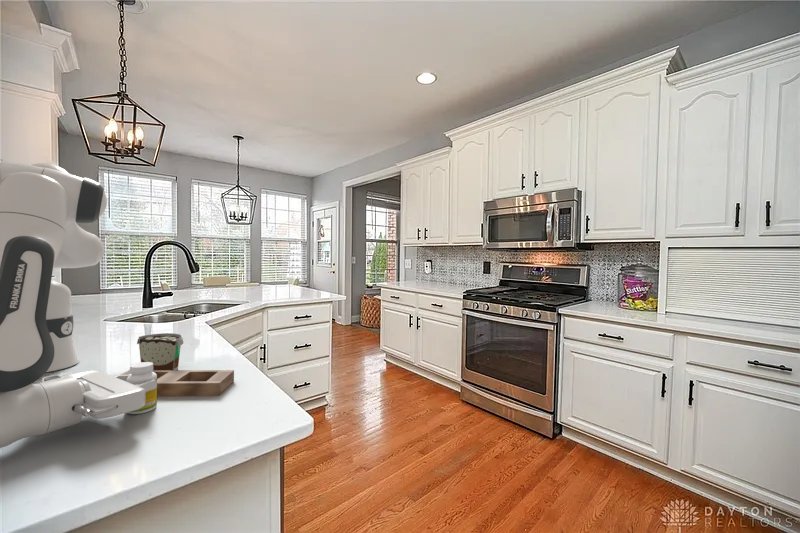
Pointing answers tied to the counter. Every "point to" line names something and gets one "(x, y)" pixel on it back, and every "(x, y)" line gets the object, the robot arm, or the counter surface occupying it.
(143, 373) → the supplement bottle
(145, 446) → the counter surface
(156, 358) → the food container
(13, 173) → the robot arm
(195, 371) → the socket rail
